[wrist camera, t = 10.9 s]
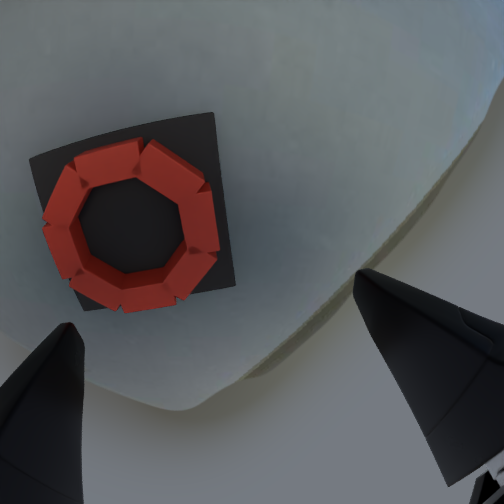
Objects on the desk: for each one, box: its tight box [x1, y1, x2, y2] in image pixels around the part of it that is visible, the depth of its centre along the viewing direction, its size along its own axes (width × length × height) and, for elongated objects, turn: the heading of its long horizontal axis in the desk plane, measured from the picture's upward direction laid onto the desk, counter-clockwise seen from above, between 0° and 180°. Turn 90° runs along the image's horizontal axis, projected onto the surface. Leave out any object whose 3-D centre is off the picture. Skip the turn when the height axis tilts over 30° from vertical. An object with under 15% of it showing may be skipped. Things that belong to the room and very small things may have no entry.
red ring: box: [42, 137, 220, 313], centre depth 14 cm, size 9×9×2 cm
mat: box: [29, 112, 236, 311], centre depth 15 cm, size 10×10×1 cm
